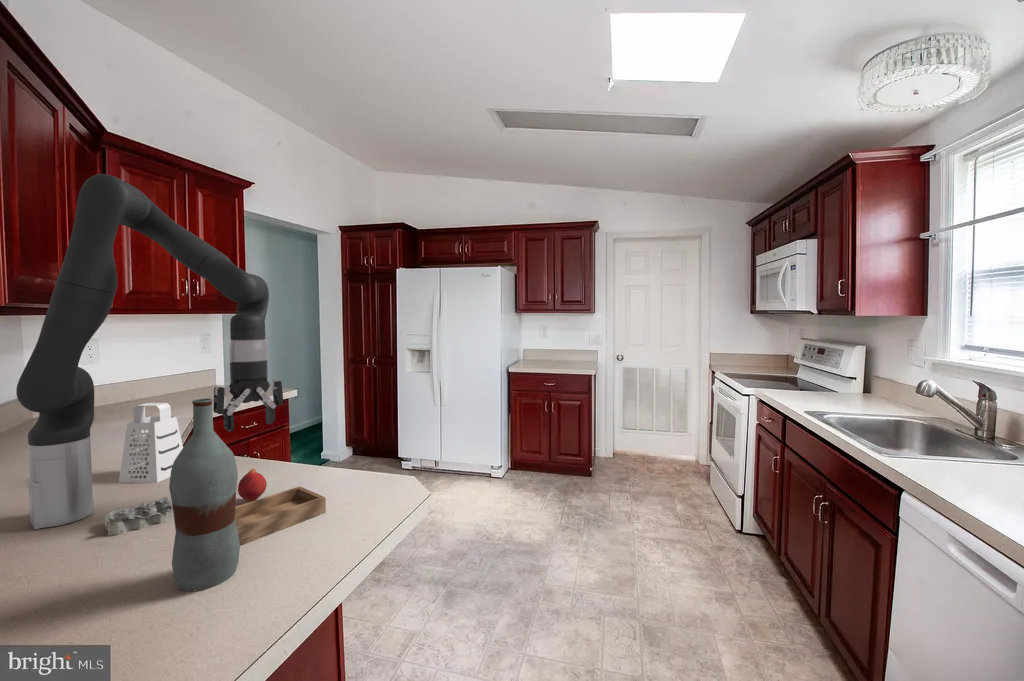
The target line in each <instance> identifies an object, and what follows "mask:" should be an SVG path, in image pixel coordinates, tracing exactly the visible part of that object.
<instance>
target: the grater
mask: <svg viewBox="0 0 1024 681" xmlns="http://www.w3.org/2000/svg"><path fill="white" fill-rule="evenodd" d="M146 406H149V407H150V406H154V407H155V406H156V407H157V408H158V409H159V416H148V417H147V416H146ZM171 407H172V406H171V405H170V404H169V403H168V402H146V403H141V404H138V405H135V406H134V407H133V409H132V411H133V412H132V413H133V414H132V415H133V420H132V421H128V422H127V423H126V430H125V437H124V444H123V451H122V458H121V464H120V471H119V478H118V483H143V484H144V483H151V484H152V483H153V484H154V483H157V484H158V483H159V482H162V481H164V480H166V479H168V478H169V479H170V475H171V470H172V466H173V463H174V461H175V459H176V458H177V456H178V455H179V453H180V452H181V450H182V449H183V447H184V445H183V440H182V437H181V432H180V427H179V423H178V422H179V421H178V418H177V416H172V408H171ZM135 436H136V437H135ZM142 463H144V464H142ZM132 467H133V468H132ZM146 472H147V473H146ZM136 476H137V477H136ZM140 476H141V478H140ZM144 476H145V477H144ZM135 477H136V478H135Z"/></svg>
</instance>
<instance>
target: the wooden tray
mask: <svg viewBox="0 0 1024 681" xmlns="http://www.w3.org/2000/svg"><path fill="white" fill-rule="evenodd" d="M326 500H327V499H326V497H325V496H323V495H321V494H318V493H316V492H314V491H312V490H309V489H307V488H305V487H303V486H296V487H293V488H290V489H288V490H283V491H281V492H277V493H275V494H271V495H268V496H264V497H261V498H258V499H257V500H255V501H252V502H250V501H248V502H246V503H243V504H239V505H235V521H236V526H237V530H238V536H239V542H240V546H243V545H245V544H248V543H251V542H253V541H255V540H259V539H260V538H263V536H264V537H266V536H269V535H272V534H274V533H276V531H277V532H279V531H282V530H284V528H285V529H288V528H289V527H293V526H295V525H297V524H299V523H302V522H304V521H307V520H311V519H313V518H316V517H318V516H321V515H323V514H322V513H324V514H326V513H327V512H326V511H327V508H326V506H327V505H326V502H327V501H326ZM325 512H326V513H325ZM320 514H321V515H320ZM317 515H318V516H317ZM315 516H316V517H315ZM271 533H272V534H271ZM268 534H269V535H268ZM258 538H259V539H258Z"/></svg>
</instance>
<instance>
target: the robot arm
mask: <svg viewBox="0 0 1024 681" xmlns="http://www.w3.org/2000/svg"><path fill="white" fill-rule="evenodd" d="M120 225H121V226H125V227H127V228H129V229H131V230H133V231H136V232H137V233H140V234H141V235H143V236H146V237H147V238H149V239H150V240H152V241H154V242H155V243H157V244H158V245H160V246H161V248H163V249H164V250H166V251H167V252H168V253H169V255H170V256H172V257H173V258H174V259H175V261H178V262H179V264H181V265H183V266H185V267H186V268H187V269H189V270H190V271H192V272H193V273H195V274H196V275H198V276H199V277H201V278H202V279H204V280H206V281H207V282H208V283H209V284H210V285H211V286H213V287H214V288H215V289H216V290H217V291H218V292H219V293H221V294H222V295H223V296H224V297H226V298H228V299H229V300H231V301H233V302H235V303H237V305H236V313H235V314H234V315H232V316H231V318H230V320H229V321H230V322H229V329H230V330H229V333H230V334H229V335H230V338H229V340H230V342H229V351H228V352H229V376H230V377H229V379H230V380H229V381H230V382H229V385H228V386H215V387H214V388H213V402H212V413H215V414H218V415H222V416H223V428H224V429H225V430H226V431H227V432H228V433H229V432H230V433H231V432H234V431H235V415H233V414H234V412H235V411H236V410H237V408H239V407H240V406H241V404H242V403H243V404H248V403H251V402H259V401H260V402H262V404H263V405H264V406H265V407H266V408H265V423H266V424H267V425H272V424H274V422H276V408H277V407H278V406H282V405H283V404H284V396H283V395H284V394H283V384H282V381H281V380H276V379H273V380H272V381H269V379H268V376H269V374H268V357H269V356H268V347H267V340H266V316H267V313H268V306H269V302H270V300H269V298H270V291H269V290H270V289H269V286H268V284H267V282H266V280H265V279H263V278H262V277H261V276H259V275H256V274H252V273H248V271H247V272H246V271H245V270H243V269H242V268H240V267H238V266H237V265H236V264H234V263H233V262H232V261H231V259H230V258H229V257H228V256H227V255H225V253H224V252H223V253H222V252H221V251H220V250H218V249H217V248H215V247H214V246H213V245H211V244H210V243H208V242H207V241H205V240H203V239H202V238H200V237H199V236H198V235H196V234H194V233H192V232H191V231H189V229H186V228H184V227H183V226H181V225H180V224H178V222H176V221H175V220H173V219H172V217H170V216H168V215H167V214H166V213H165V212H164V211H162V209H161V208H160V207H158V205H156V204H155V203H154V202H153V201H152V200H151V199H150V198H149V197H148V196H147V195H146V194H145V193H144V192H143V191H141V189H138V188H137V187H135V186H134V185H132V184H130V183H128V182H126V181H124V180H122V179H121V178H119V177H116V176H114V175H112V174H107V173H97V174H95V175H92V176H90V177H89V178H87V179H86V180H85V181H84V182H83V184H82V186H81V187H80V190H79V192H78V197H77V202H76V208H75V214H74V219H73V225H72V230H71V235H70V239H69V241H68V245H67V248H66V251H65V254H64V255H65V256H64V258H63V262H62V265H61V268H60V270H59V274H58V275H57V278H56V279H57V280H56V281H55V285H54V288H53V290H52V294H51V296H50V300H49V305H48V309H47V310H46V313H45V317H44V319H43V323H42V325H41V330H40V332H39V336H38V339H37V342H36V345H35V346H34V349H33V351H32V352H31V355H30V357H29V358H28V361H27V362H26V364H25V367H24V369H23V371H22V373H21V375H20V377H19V379H18V381H17V385H16V392H15V393H16V397H17V400H18V402H19V403H20V405H21V406H22V407H23V408H25V409H26V410H28V411H31V412H33V413H38V414H39V415H38V418H37V420H36V422H35V424H34V425H33V426H32V428H31V429H30V430H29V431H28V433H27V443H28V465H29V466H28V468H29V478H28V479H27V480H28V483H27V484H28V486H27V487H28V501H29V503H28V504H29V506H28V507H29V518H30V519H29V521H30V524H31V526H32V528H33V530H41V529H42V528H43V529H45V528H51V527H57V526H58V527H59V526H63V525H67V524H71V523H74V522H77V521H80V520H82V519H84V518H87V517H89V516H91V515H92V514H93V513H94V493H93V490H94V489H93V469H92V443H91V427H92V425H93V423H94V420H95V385H94V380H93V378H92V375H91V374H90V373H89V372H88V371H86V369H85V368H82V367H80V366H79V363H80V360H81V357H82V354H83V352H84V350H85V348H86V346H87V345H88V343H89V341H90V340H91V338H93V336H94V335H95V334H96V332H97V331H98V330H99V329H100V327H101V326H102V324H104V322H105V321H106V319H107V317H108V315H109V314H110V311H111V309H112V306H113V303H114V299H115V296H116V293H117V290H118V284H119V283H118V273H117V267H116V266H117V265H116V261H115V256H114V255H115V254H114V244H115V239H116V236H117V232H118V229H119V226H120ZM269 388H270V390H271V391H272V397H273V400H272V398H271V397H270V396H269V395H268V394H267V392H268V390H269ZM228 393H230V394H231V395H232V396H231V397H230V398H229V399H228V401H227V404H226V406H225V397H226V396H227V395H228Z"/></svg>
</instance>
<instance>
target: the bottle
mask: <svg viewBox="0 0 1024 681" xmlns="http://www.w3.org/2000/svg"><path fill="white" fill-rule="evenodd" d="M213 402H214V399H213V398H208V397H207V398H198V399H197V398H196V399H193V400H192V401H191V403H192V415H193V416H192V420H193V422H192V424H193V425H192V430H193V433H192V434H191V436H190V437H189V438H188V440H187V442H185V444H184V445H183V449H182V450H181V452H180V453H179V455H178V456H177V458H176V459H175V461H174V463H173V466H172V470H171V475H170V477H169V483H168V484H169V486H168V489H169V494H170V500H171V505H172V508H173V510H172V515H173V520H174V528H175V536H174V542H173V549H172V550H173V551H172V559H171V567H172V571H173V577H174V581H175V582H176V584H177V587H178V588H179V589H180V590H181V589H183V590H182V591H184V590H188V591H187V592H195V591H194V590H197V591H203V590H206V588H207V589H210V588H209V587H211V588H213V587H215V586H218V585H221V584H222V583H224V582H226V581H227V579H228V580H229V579H230V578H231V577H233V576H234V575H235V573H236V572H237V569H238V565H239V559H240V549H241V545H240V542H239V536H238V530H237V526H236V521H235V507H236V506H237V504H236V501H237V500H236V499H237V490H238V478H239V472H238V466H237V461H236V457H235V454H234V453H233V451H232V449H230V448H229V447H228V445H227V444H226V443H225V442H224V441H223V440H222V438H221V437H220V436H219V435H218V434H217V432H216V431H215V430H214V420H213V418H214V417H213ZM220 583H221V584H220ZM202 589H203V590H202Z"/></svg>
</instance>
